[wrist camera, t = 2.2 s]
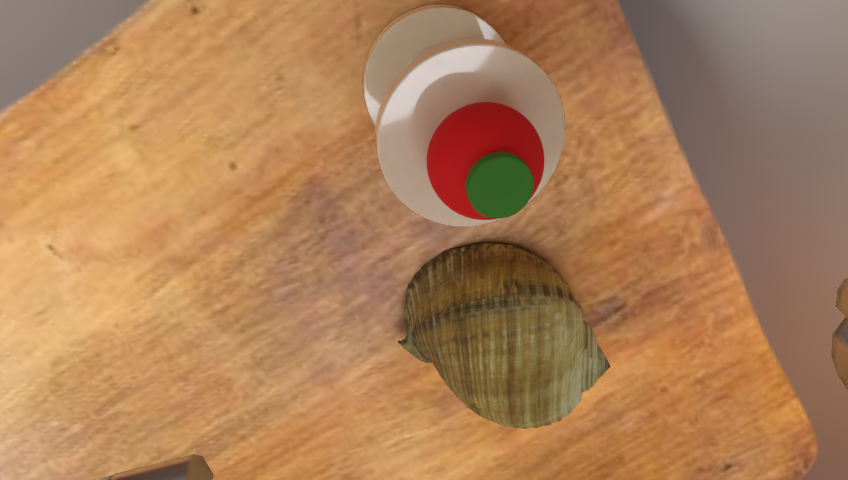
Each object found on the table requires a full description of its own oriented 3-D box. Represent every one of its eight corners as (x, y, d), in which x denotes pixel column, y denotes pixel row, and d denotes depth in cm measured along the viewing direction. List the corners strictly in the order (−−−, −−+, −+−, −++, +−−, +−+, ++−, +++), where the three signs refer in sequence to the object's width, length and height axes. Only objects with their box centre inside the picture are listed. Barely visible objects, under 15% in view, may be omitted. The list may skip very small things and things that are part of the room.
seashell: (405, 277, 36) (399, 431, 33) (395, 225, 30) (386, 411, 27) (589, 280, 36) (599, 437, 33) (620, 227, 29) (636, 417, 26)
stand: (471, -26, 25) (521, 5, 19) (532, 108, 28) (592, 172, 22) (333, 52, 26) (340, 107, 20) (406, 176, 29) (431, 256, 23)
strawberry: (499, 67, 20) (535, 103, 17) (542, 159, 22) (580, 207, 19) (399, 122, 20) (415, 167, 17) (448, 209, 22) (471, 265, 19)
